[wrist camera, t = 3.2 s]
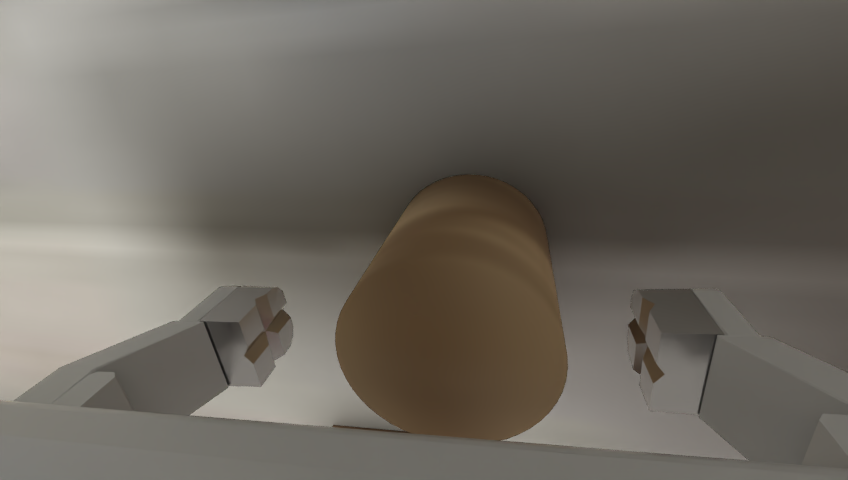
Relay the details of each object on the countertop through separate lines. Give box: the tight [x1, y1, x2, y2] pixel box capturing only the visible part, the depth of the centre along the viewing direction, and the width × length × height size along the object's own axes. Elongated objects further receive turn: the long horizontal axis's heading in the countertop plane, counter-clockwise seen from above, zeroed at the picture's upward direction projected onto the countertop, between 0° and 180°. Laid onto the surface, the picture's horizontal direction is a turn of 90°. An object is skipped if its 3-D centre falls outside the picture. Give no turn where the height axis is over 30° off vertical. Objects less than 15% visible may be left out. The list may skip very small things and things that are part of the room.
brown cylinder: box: [335, 175, 568, 441], centre depth 10 cm, size 4×4×5 cm
